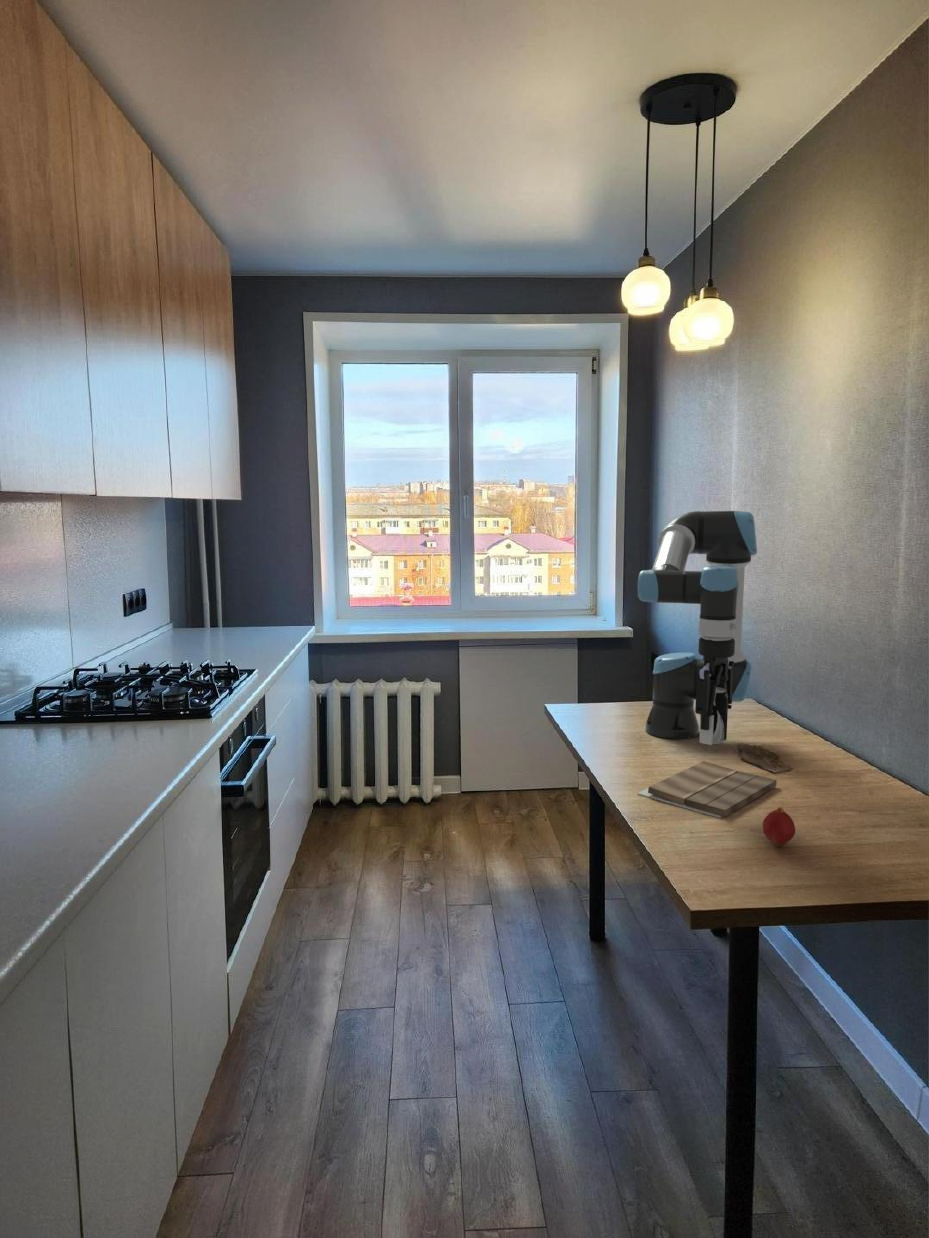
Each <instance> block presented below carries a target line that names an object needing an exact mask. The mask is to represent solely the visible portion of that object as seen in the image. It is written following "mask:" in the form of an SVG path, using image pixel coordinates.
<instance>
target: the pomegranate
mask: <svg viewBox="0 0 929 1238" xmlns="http://www.w3.org/2000/svg"><path fill="white" fill-rule="evenodd" d="M761 826H762V827H761V828H762V831H763V834H764V836H765V837H766V839H767V840H768V841H770V842H771V843H772V844H773V845H774V846H775V847H776V848H777V847H778V848H779V847H782V846H784V845H785V844H787V843H789V842H790V841H792V840H793V838H794V837H795V834H796V826H795V823H794V821H793V818H792V817H791V816H790V815H789V814H788V813H787V812H785V811H784V809H783V807H782V806H778V807H777V808H776V809H775V810H773V811H770V812H769V813H768V814H767V815H766V816H765V817H764V819H763V821H762V825H761Z"/></svg>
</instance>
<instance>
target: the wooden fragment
mask: <svg viewBox="0 0 929 1238" xmlns="http://www.w3.org/2000/svg"><path fill="white" fill-rule="evenodd" d="M738 748H739V749H738V750H739V757H740V760H742V761H745V762H748V763H750V764H753V765H755V766H757V767H760V768H762V769H765V770H766V771H770V772H772V773H773V774H774V775H775V774H783V773H785V772H789V771H791V770H793V767H792V766H789V765H788V764H786V763H784V761H782V760H779V758H780V755H779V754H777V753H775V752H772V751H771V749H766V748H765V747H762V746H756V745H751V744H747V743H743V742H738Z"/></svg>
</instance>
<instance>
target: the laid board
mask: <svg viewBox="0 0 929 1238" xmlns="http://www.w3.org/2000/svg"><path fill="white" fill-rule="evenodd" d="M777 782H778V781H777V779H773V778H770V777H766V776H761V775H758V774H753V773H749V772H744V771H738V772H737V773H735V774H733V775H731V776H729V777H728V778H726V779H724V780H722V781H720V782H718V783H716V784H714V785H712V786H710V787H708V788H706V789H705V790H703V791H701V792H699V793H697V794H695V795H693V796H691V797H689V798H687V799H686V806H688V807H692V808H695V809H699V810H702V811H706V812H709V813H713V814H716V815H720V816H722V818H723V817H724V818H725V817H728V816H729V815H730V814H732V813H734V812H735V811H737V810H739V809H741V808H742V807H743V806H745V805H747V804H749V803H750V802H752V801H754V800H756V799H757V798H760V797H761V796H762V795H764V794H766V793H768V792H769V791H771V790H773V789H774V788H776V787H777Z"/></svg>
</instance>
